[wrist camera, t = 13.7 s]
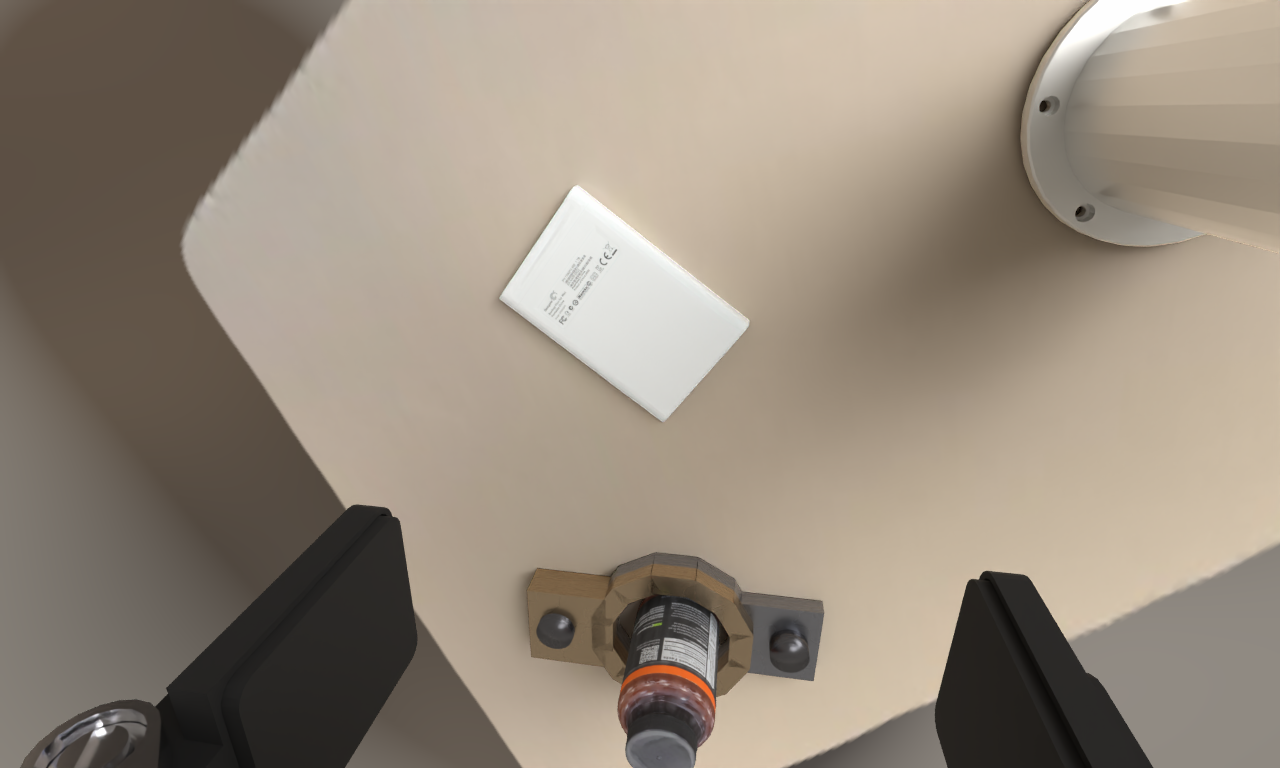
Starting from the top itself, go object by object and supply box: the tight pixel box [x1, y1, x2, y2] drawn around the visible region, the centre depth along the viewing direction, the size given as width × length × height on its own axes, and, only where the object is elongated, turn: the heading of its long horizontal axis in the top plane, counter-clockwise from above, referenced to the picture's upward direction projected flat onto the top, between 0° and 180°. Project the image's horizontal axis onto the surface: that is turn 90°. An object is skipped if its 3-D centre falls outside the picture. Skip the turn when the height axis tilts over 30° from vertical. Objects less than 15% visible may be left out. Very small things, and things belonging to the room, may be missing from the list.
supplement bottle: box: [618, 594, 720, 768], centre depth 42 cm, size 6×6×11 cm
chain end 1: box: [527, 564, 753, 697], centre depth 46 cm, size 16×11×3 cm
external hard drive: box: [499, 185, 750, 422], centre depth 39 cm, size 2×8×12 cm
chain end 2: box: [607, 553, 824, 681], centre depth 46 cm, size 16×11×2 cm
